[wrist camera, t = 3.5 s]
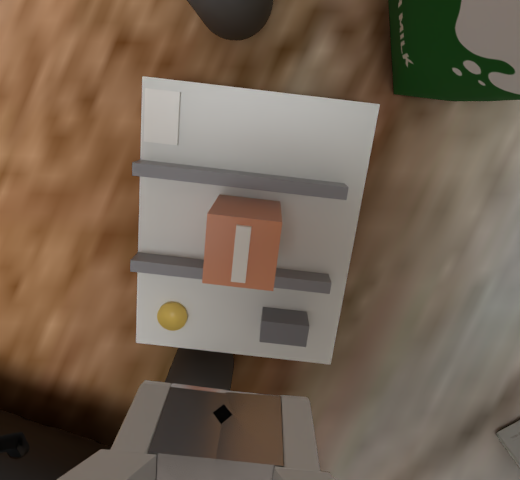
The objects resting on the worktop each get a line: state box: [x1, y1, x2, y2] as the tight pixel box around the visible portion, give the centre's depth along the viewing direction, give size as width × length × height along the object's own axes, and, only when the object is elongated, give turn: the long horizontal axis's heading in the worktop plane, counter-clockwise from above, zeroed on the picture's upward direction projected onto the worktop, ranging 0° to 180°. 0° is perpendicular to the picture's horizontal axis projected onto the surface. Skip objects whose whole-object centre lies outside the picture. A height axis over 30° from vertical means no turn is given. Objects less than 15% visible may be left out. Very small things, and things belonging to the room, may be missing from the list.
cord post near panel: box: [165, 348, 234, 391], centre depth 21 cm, size 4×4×14 cm
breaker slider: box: [202, 194, 282, 291], centre depth 19 cm, size 3×3×4 cm
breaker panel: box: [130, 76, 380, 365], centre depth 22 cm, size 11×14×6 cm
